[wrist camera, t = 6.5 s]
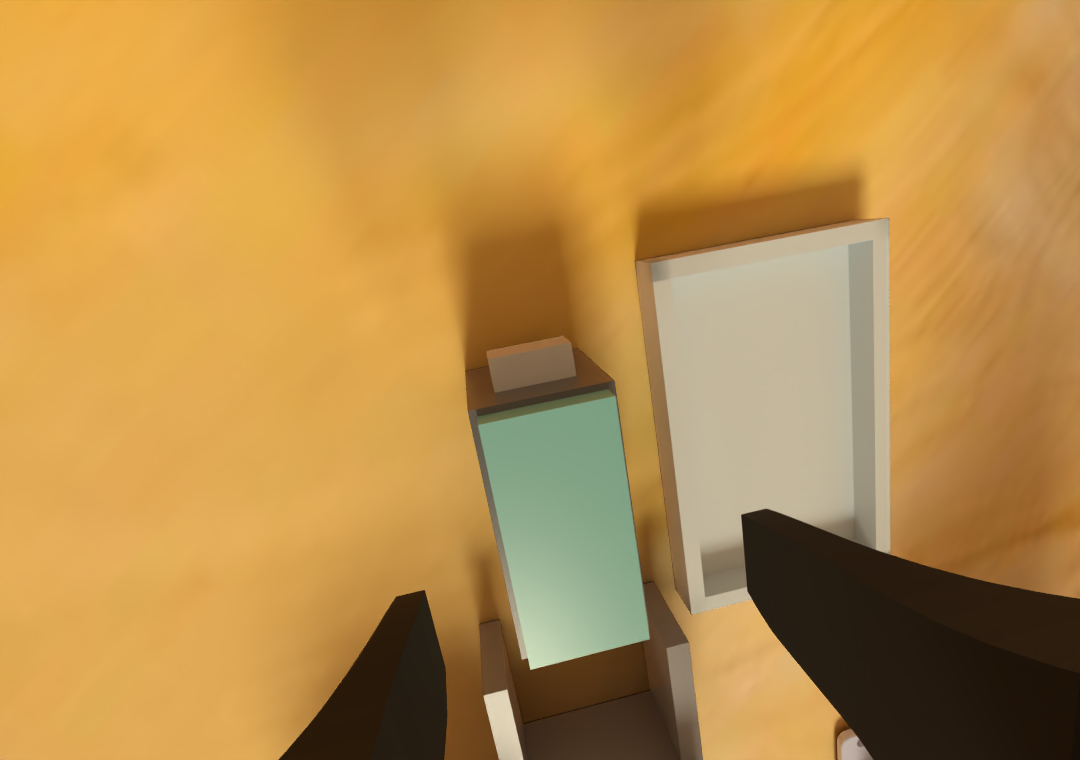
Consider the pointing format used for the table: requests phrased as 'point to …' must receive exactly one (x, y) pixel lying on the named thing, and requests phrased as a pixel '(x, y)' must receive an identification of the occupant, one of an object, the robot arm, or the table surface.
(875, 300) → the tray
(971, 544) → the table surface
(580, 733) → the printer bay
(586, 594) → the mint green tabbed block
